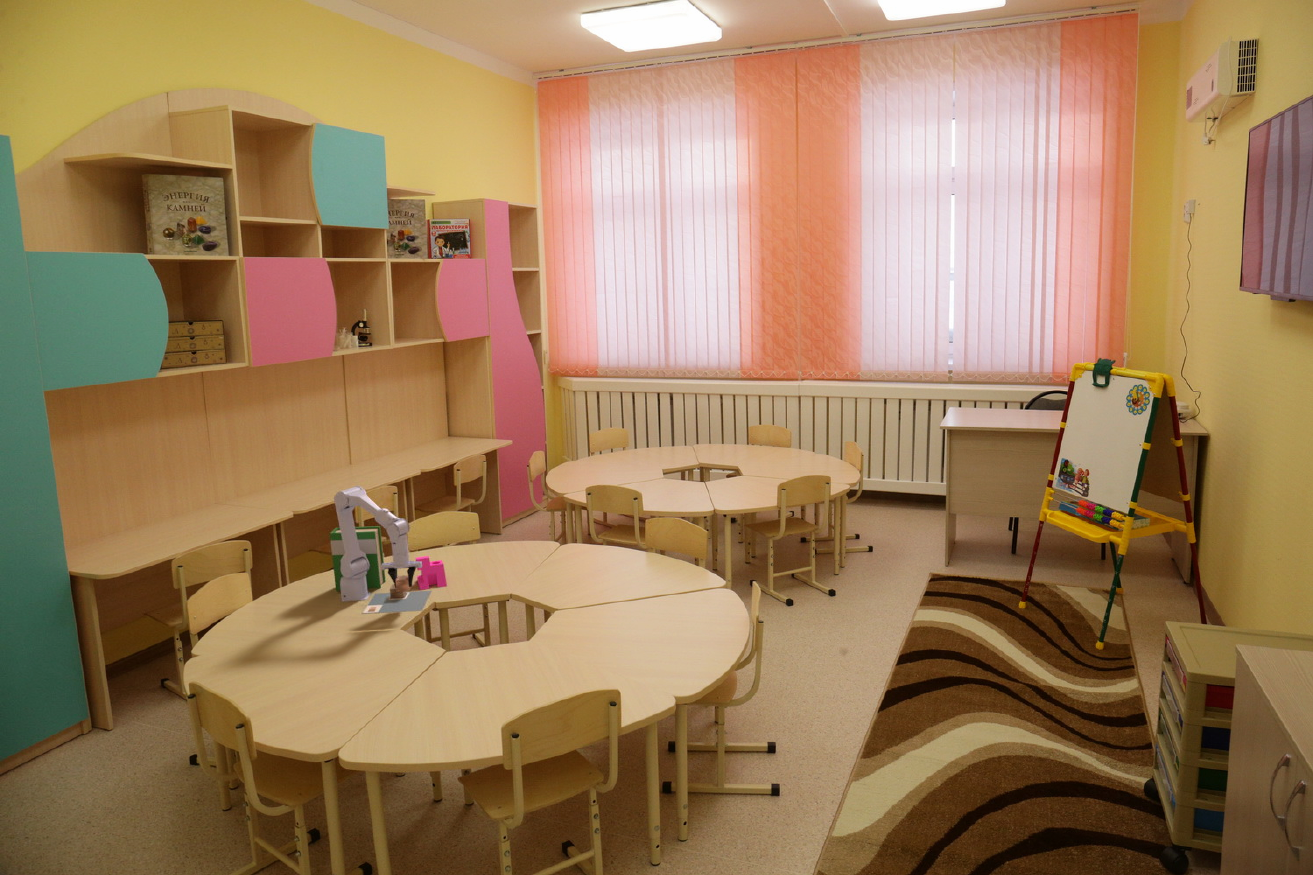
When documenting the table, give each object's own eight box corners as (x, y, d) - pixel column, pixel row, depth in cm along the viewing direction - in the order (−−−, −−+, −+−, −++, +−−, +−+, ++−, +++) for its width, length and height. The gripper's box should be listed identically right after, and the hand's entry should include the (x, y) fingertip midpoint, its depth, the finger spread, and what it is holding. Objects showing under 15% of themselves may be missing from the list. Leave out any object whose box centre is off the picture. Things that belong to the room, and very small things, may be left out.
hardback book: (385, 582, 362) (380, 526, 357) (380, 589, 354) (374, 531, 350) (342, 584, 362) (336, 527, 357) (336, 590, 354) (329, 533, 350)
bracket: (417, 581, 362) (415, 557, 360) (443, 577, 365) (441, 553, 363) (420, 591, 351) (418, 566, 349) (447, 587, 354) (444, 563, 352)
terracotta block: (396, 591, 331) (395, 580, 330) (399, 587, 335) (398, 575, 335) (408, 590, 331) (407, 579, 330) (411, 586, 336) (410, 575, 335)
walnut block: (390, 598, 343) (389, 589, 342) (393, 593, 348) (392, 584, 347) (403, 598, 343) (402, 588, 342) (406, 593, 348) (405, 583, 347)
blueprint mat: (361, 615, 329) (361, 613, 329) (375, 594, 349) (375, 593, 349) (422, 611, 330) (421, 610, 330) (431, 591, 350) (431, 590, 350)
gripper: (378, 556, 326) (381, 591, 329) (418, 554, 327) (421, 589, 330) (382, 550, 333) (386, 584, 336) (421, 548, 334) (424, 582, 337)
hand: (403, 586), depth 333 cm, fingers closed on terracotta block, 4 cm apart
